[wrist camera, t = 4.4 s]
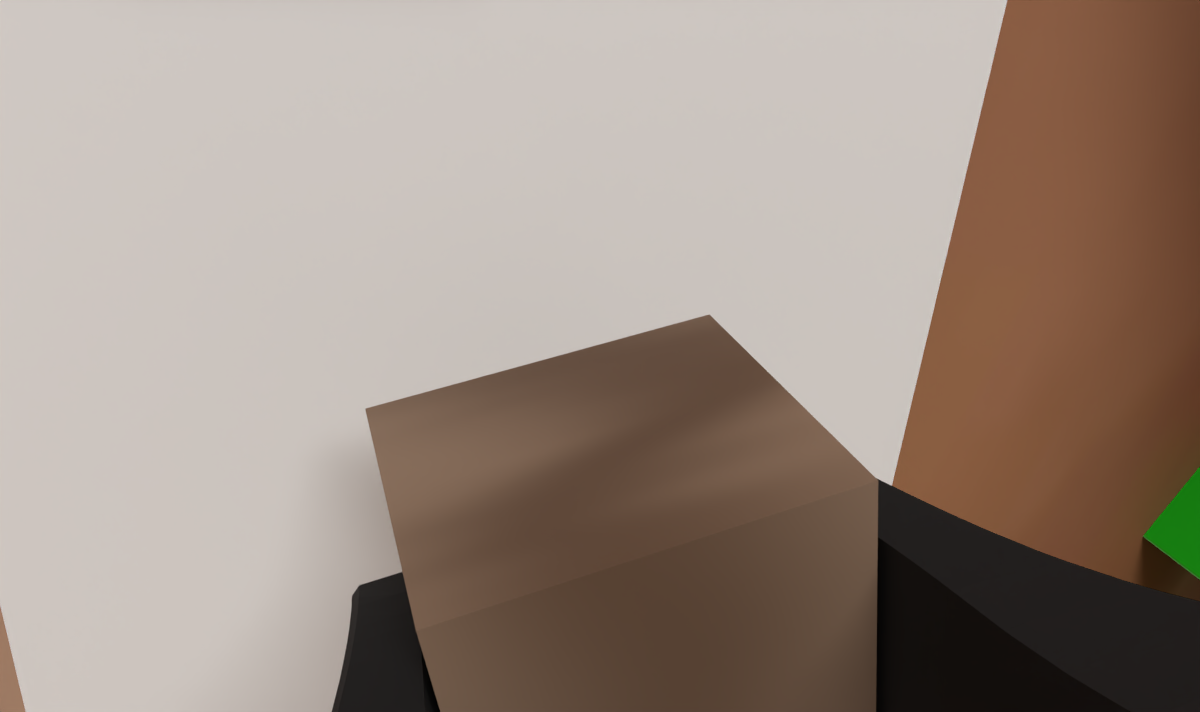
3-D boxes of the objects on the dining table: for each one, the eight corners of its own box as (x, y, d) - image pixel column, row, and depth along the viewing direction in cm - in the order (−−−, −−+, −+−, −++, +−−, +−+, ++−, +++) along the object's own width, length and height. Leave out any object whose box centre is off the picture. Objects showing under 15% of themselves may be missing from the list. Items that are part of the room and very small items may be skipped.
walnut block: (709, 314, 13) (878, 480, 9) (731, 575, 15) (875, 787, 12) (365, 408, 12) (416, 630, 9) (442, 673, 14) (507, 934, 11)
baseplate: (962, -14, 17) (1008, -5, 16) (831, 587, 23) (859, 621, 22) (-127, -72, 12) (-159, -64, 11) (50, 715, 18) (39, 767, 17)
